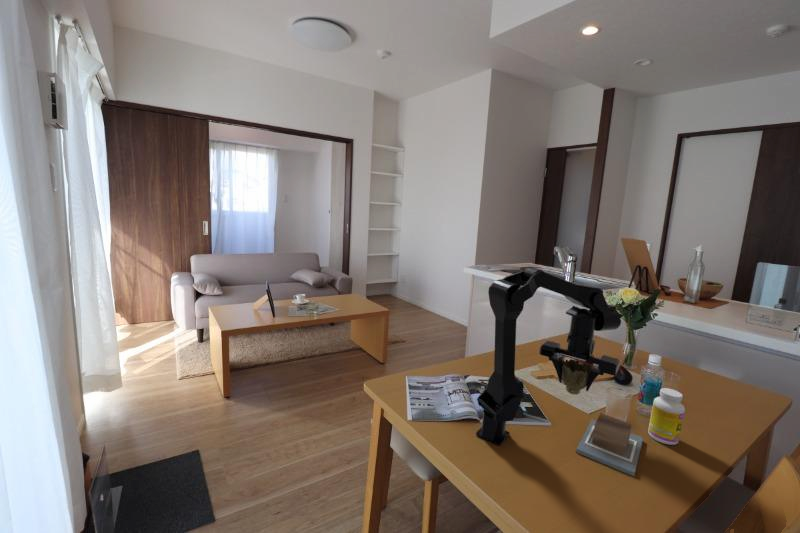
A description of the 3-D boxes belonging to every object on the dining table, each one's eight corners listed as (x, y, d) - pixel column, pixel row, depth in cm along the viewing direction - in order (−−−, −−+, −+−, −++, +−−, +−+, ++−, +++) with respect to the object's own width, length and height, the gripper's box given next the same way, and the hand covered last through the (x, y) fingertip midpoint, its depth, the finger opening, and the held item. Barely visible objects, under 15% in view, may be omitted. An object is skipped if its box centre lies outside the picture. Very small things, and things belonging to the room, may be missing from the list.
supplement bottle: (677, 449, 93) (686, 402, 90) (645, 437, 97) (654, 392, 95) (679, 438, 98) (688, 392, 96) (649, 427, 102) (657, 383, 100)
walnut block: (624, 456, 87) (628, 436, 87) (592, 443, 92) (594, 424, 91) (628, 442, 93) (631, 423, 92) (597, 430, 97) (600, 413, 96)
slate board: (634, 476, 82) (635, 471, 82) (576, 452, 89) (576, 447, 89) (642, 441, 95) (643, 436, 95) (591, 422, 103) (591, 418, 102)
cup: (553, 390, 102) (557, 363, 100) (564, 382, 107) (568, 356, 105) (581, 402, 96) (586, 373, 95) (591, 393, 102) (596, 366, 100)
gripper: (626, 333, 99) (617, 387, 102) (554, 317, 111) (547, 366, 113) (620, 344, 91) (610, 403, 93) (542, 325, 102) (535, 379, 104)
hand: (573, 386), depth 101 cm, fingers closed on cup, 6 cm apart
